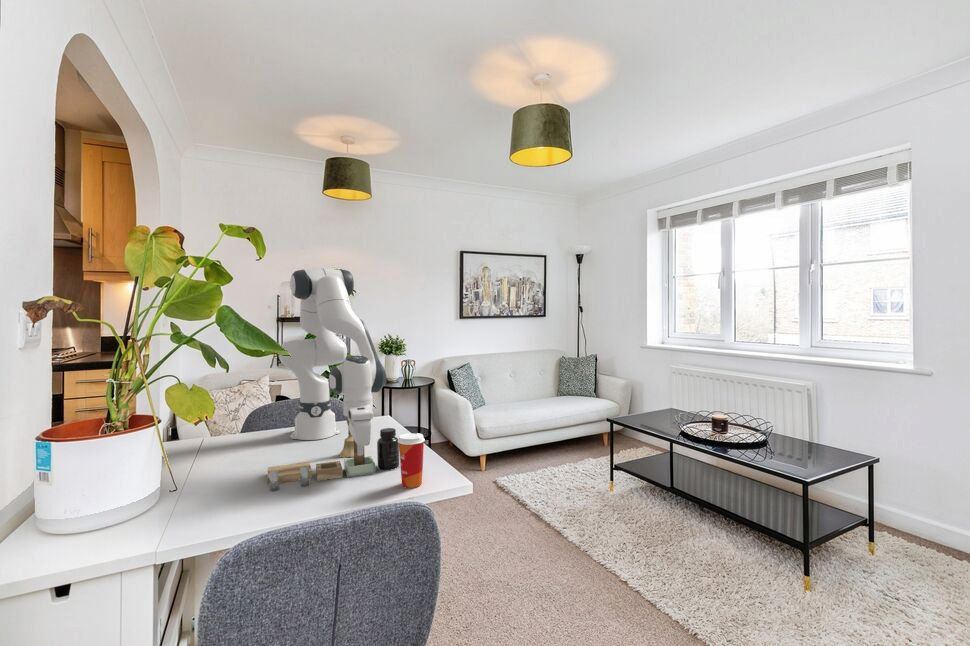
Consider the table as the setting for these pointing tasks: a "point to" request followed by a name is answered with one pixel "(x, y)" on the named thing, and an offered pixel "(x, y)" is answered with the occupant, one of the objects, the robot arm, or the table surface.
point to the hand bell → (348, 445)
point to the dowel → (358, 459)
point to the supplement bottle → (388, 449)
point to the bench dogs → (275, 478)
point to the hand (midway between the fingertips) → (359, 452)
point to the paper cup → (411, 459)
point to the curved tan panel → (289, 471)
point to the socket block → (329, 470)
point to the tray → (359, 467)
